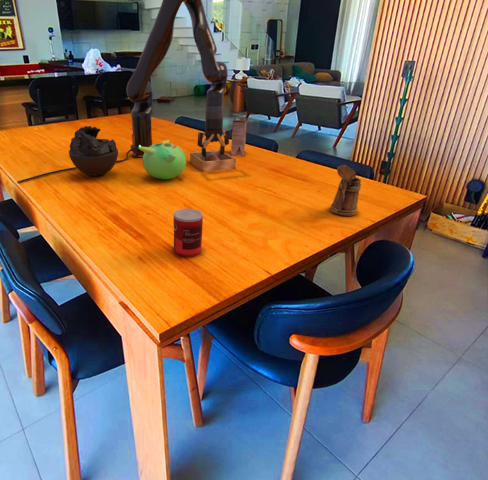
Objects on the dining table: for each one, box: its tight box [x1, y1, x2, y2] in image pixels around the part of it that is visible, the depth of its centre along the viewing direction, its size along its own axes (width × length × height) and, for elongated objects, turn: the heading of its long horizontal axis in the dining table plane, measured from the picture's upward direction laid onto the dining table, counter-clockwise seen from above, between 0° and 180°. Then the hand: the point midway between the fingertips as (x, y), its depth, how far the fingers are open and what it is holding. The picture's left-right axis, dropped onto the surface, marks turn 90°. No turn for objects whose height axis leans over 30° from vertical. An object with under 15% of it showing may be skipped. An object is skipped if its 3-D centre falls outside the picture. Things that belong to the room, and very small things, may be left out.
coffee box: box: [230, 117, 248, 157], centre depth 189 cm, size 9×6×16 cm
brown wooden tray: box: [189, 149, 237, 173], centre depth 174 cm, size 16×17×5 cm
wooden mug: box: [329, 163, 362, 217], centre depth 126 cm, size 9×14×18 cm, turn 139°
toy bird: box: [138, 139, 187, 180], centre depth 156 cm, size 18×17×15 cm
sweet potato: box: [205, 153, 220, 161], centre depth 174 cm, size 11×5×5 cm, turn 20°
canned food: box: [173, 208, 204, 258], centre depth 105 cm, size 8×8×11 cm
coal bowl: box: [68, 125, 119, 177], centre depth 158 cm, size 20×20×19 cm
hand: (212, 155), depth 173 cm, fingers open, 8 cm apart
